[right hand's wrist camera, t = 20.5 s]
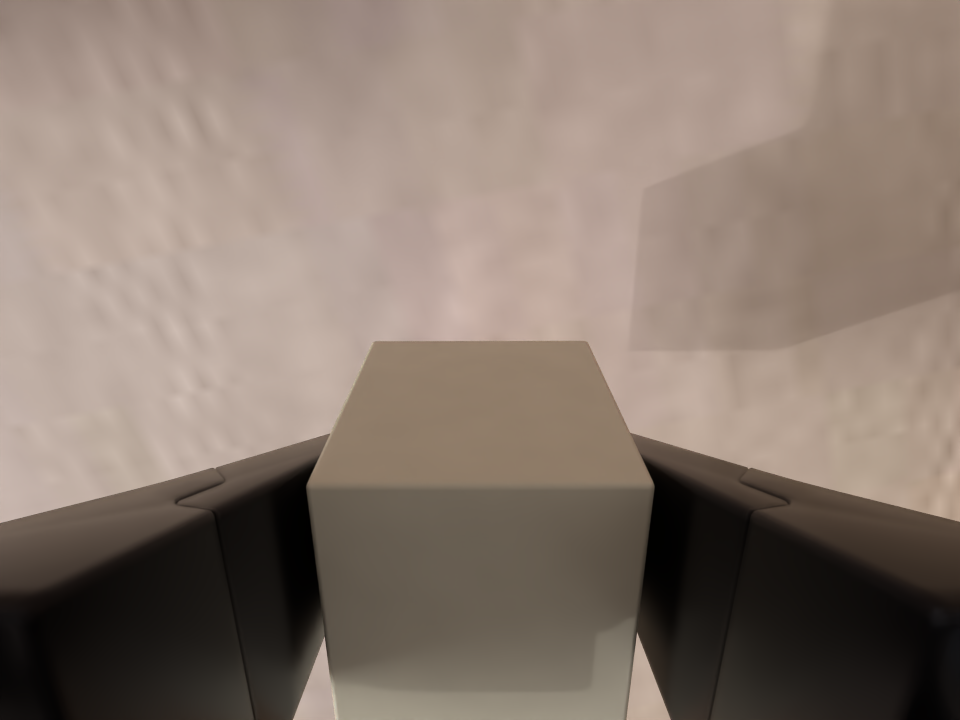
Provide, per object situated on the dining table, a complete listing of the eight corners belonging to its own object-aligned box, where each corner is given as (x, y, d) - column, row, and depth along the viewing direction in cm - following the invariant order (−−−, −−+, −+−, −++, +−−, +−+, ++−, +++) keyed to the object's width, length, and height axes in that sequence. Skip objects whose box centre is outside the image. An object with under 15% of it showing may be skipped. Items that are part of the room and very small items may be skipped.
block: (385, 527, 13) (336, 744, 9) (371, 340, 11) (302, 485, 7) (575, 527, 13) (625, 742, 9) (588, 339, 11) (657, 484, 7)
